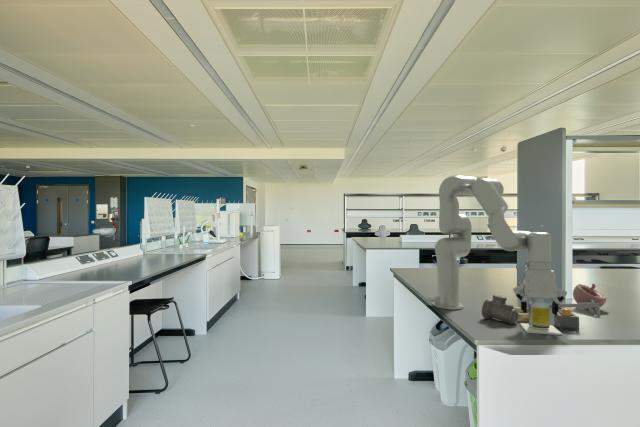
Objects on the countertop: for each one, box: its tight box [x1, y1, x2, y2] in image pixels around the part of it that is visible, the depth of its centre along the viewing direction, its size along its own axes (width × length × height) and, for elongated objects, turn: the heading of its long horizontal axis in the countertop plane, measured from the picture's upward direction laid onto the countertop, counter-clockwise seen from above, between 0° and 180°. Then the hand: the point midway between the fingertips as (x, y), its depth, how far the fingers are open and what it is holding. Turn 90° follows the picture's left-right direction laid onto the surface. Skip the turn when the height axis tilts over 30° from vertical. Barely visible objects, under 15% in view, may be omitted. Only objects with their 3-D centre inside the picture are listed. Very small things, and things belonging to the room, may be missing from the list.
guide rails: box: [514, 306, 529, 323], centre depth 147 cm, size 10×11×3 cm
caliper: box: [547, 300, 601, 316], centre depth 160 cm, size 21×1×6 cm, turn 32°
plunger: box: [560, 307, 572, 316], centre depth 134 cm, size 3×3×5 cm
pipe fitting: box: [481, 294, 518, 325], centre depth 143 cm, size 12×8×10 cm
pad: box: [519, 322, 563, 336], centre depth 132 cm, size 11×10×1 cm
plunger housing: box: [553, 311, 580, 332], centre depth 134 cm, size 6×6×5 cm
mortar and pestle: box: [572, 283, 607, 310], centre depth 162 cm, size 12×12×12 cm
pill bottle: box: [528, 298, 550, 330], centre depth 133 cm, size 6×6×12 cm
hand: (539, 313), depth 132 cm, fingers open, 9 cm apart
